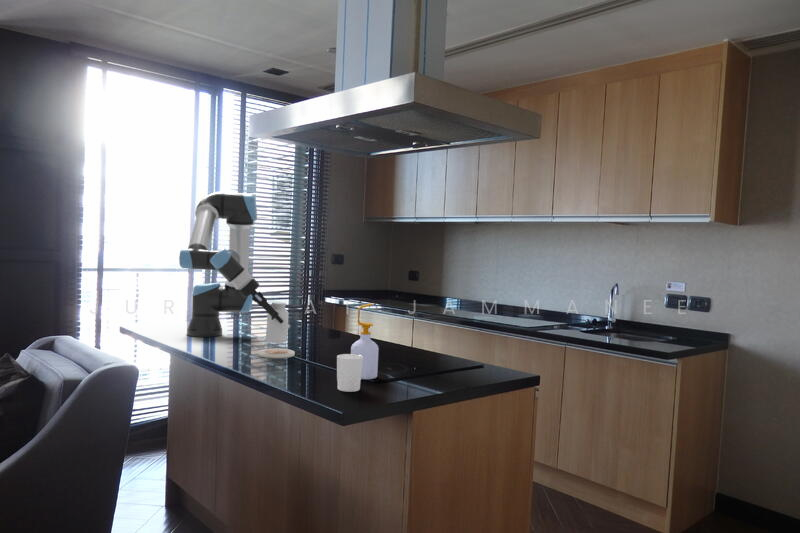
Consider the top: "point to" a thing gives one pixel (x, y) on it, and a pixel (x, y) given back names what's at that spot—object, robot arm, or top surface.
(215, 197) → the robot arm
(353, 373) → the white cup
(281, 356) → the coaster
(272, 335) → the pill bottle
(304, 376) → the top surface
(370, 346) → the soap bottle
